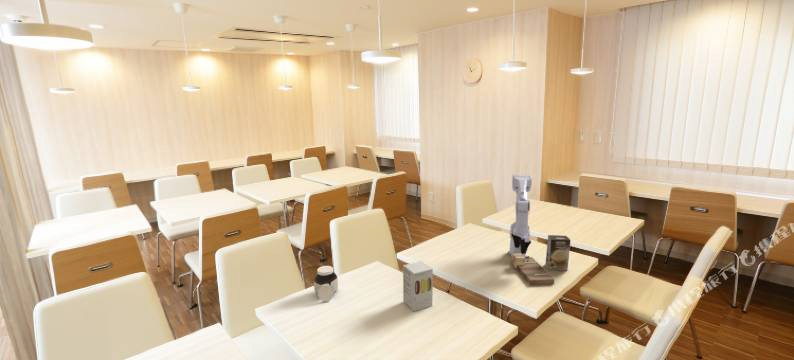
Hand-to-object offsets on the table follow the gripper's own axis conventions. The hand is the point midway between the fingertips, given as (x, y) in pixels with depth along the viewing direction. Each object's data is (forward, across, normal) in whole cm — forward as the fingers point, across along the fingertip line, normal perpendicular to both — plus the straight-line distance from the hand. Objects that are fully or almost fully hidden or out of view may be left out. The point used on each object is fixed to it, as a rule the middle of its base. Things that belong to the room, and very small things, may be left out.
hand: (520, 250), depth 188 cm
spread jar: (+10, +14, -94) cm, 96 cm away
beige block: (+8, 0, +1) cm, 8 cm away
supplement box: (+10, +26, -56) cm, 62 cm away
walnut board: (+9, +6, +4) cm, 12 cm away
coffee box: (+10, +2, +18) cm, 21 cm away
